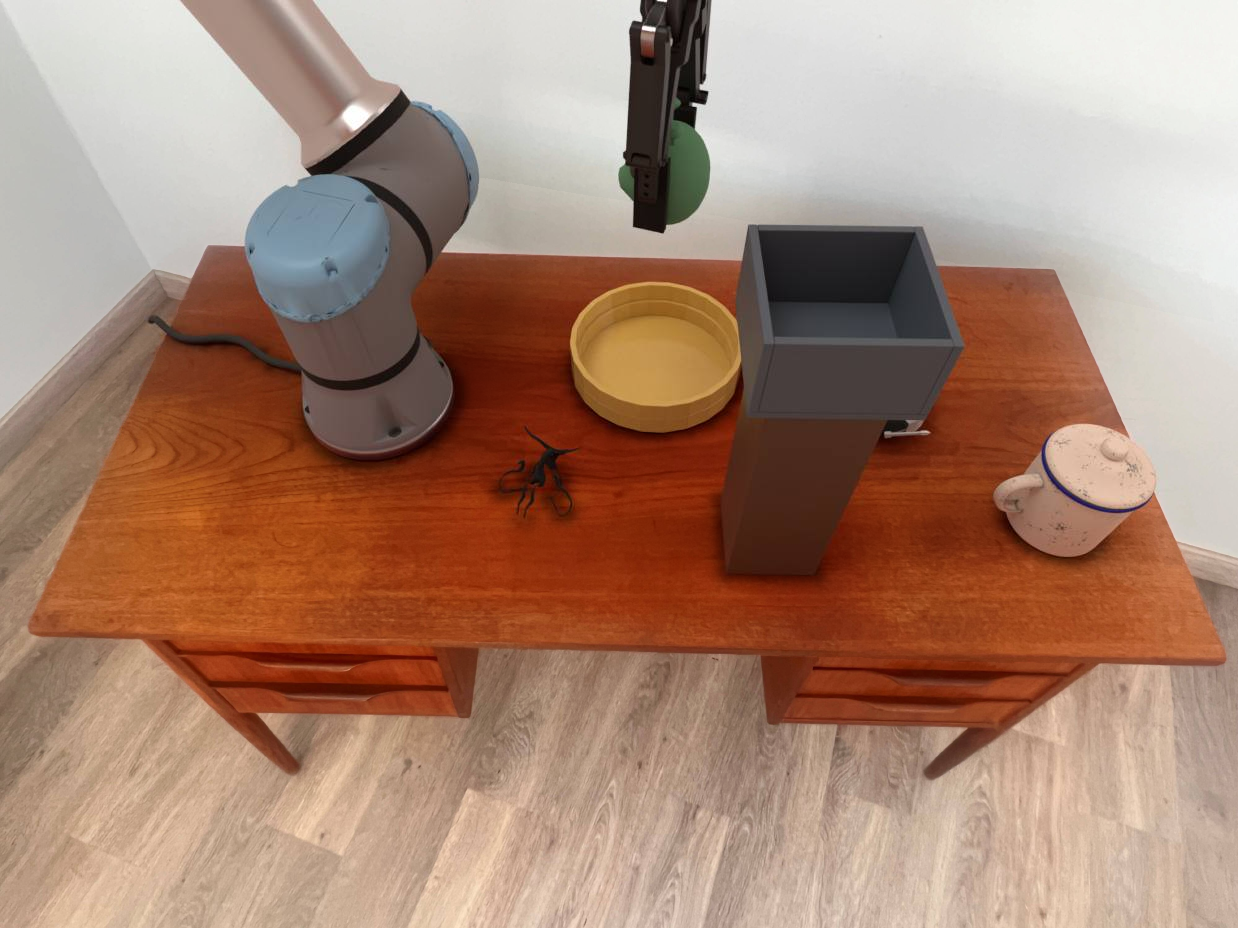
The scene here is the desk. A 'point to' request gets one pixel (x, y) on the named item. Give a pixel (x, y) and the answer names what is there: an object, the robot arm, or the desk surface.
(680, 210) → the alien toy
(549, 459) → the creature
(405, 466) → the desk surface
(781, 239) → the bin
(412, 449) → the robot arm
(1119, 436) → the teacup with lid
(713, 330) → the bowl
